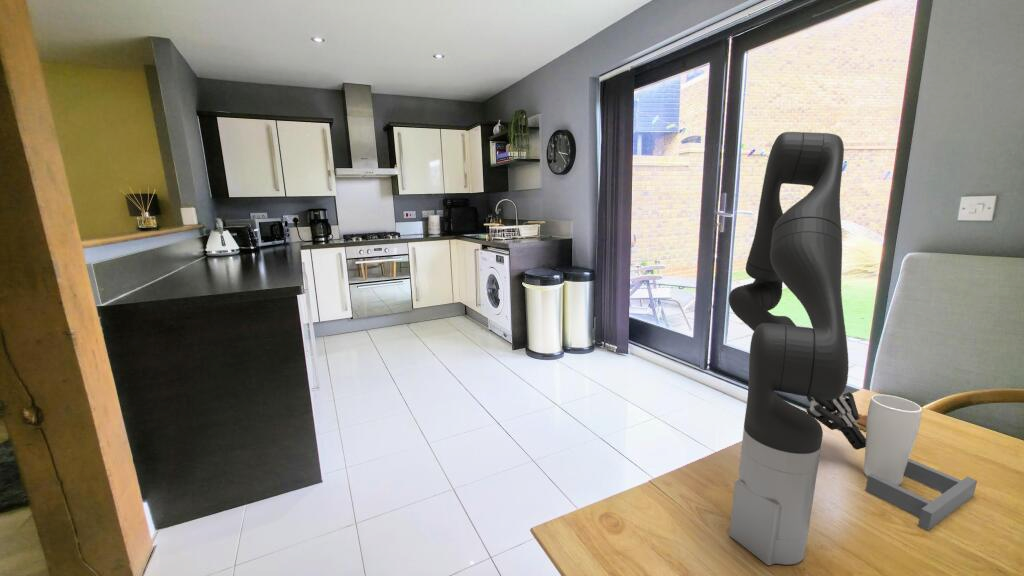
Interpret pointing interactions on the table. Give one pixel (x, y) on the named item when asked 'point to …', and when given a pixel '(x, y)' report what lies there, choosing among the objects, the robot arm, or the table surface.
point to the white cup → (890, 436)
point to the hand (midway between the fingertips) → (862, 447)
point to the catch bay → (925, 509)
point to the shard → (862, 422)
